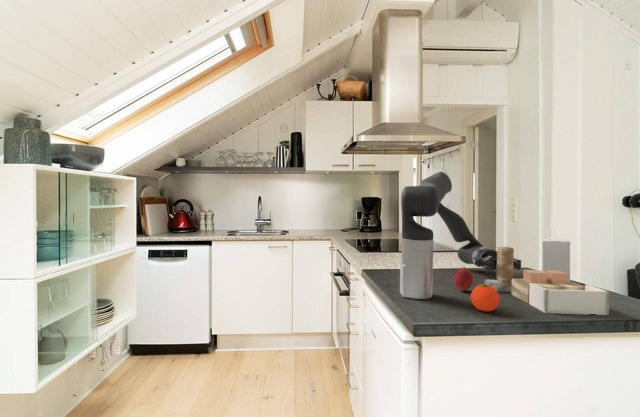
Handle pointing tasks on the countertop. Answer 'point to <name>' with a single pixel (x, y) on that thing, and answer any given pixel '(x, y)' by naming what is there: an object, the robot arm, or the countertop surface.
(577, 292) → the box
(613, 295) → the countertop surface
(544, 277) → the tile left
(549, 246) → the skincare box
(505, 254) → the scraper
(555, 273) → the tile right
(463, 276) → the onion
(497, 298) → the clementine
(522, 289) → the tan wooden block
